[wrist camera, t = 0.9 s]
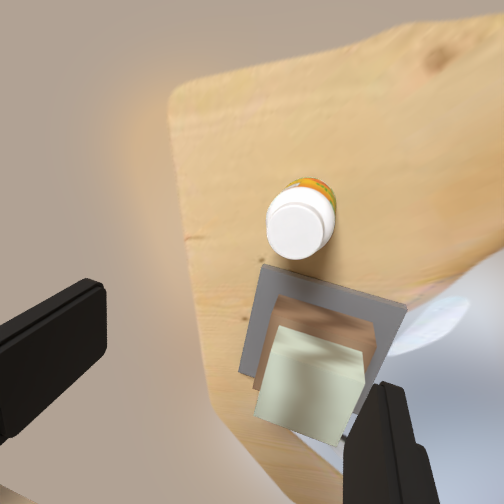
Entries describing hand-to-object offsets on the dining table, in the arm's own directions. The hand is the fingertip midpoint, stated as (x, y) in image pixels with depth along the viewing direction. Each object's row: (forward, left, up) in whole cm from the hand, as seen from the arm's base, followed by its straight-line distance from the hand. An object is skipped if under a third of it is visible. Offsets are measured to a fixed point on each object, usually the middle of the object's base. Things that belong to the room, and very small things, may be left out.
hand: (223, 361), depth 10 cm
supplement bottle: (0, -1, -23) cm, 23 cm away
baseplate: (-5, +14, -22) cm, 27 cm away
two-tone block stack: (-5, +14, -22) cm, 27 cm away
